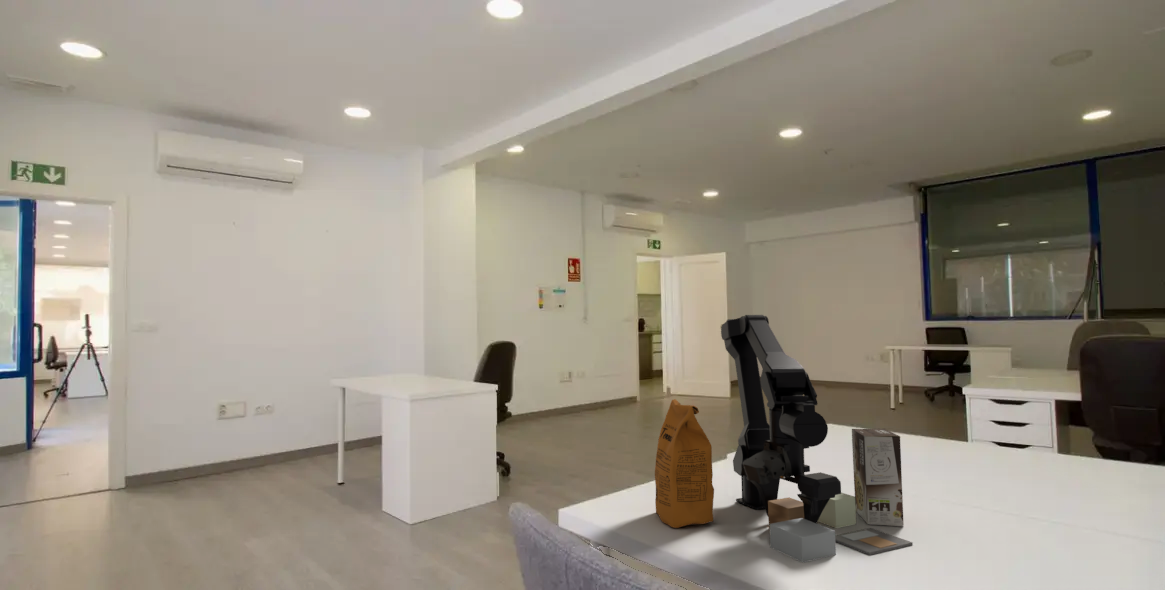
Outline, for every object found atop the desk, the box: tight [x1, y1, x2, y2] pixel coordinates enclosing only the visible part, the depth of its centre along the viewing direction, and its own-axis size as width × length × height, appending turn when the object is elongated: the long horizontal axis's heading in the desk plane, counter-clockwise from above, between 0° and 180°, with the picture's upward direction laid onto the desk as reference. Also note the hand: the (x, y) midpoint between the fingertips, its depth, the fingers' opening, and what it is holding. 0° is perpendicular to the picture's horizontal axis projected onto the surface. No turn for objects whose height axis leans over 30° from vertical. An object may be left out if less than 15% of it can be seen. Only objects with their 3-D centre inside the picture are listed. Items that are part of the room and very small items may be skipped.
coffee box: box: [851, 428, 904, 527], centre depth 110 cm, size 9×6×16 cm
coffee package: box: [654, 398, 715, 529], centre depth 111 cm, size 10×12×22 cm
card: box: [835, 527, 914, 556], centre depth 97 cm, size 8×10×1 cm
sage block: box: [817, 492, 857, 529], centre depth 108 cm, size 5×5×5 cm
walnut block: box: [767, 497, 804, 530], centre depth 103 cm, size 5×5×5 cm
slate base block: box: [769, 518, 837, 563], centre depth 94 cm, size 7×7×4 cm
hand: (789, 524), depth 103 cm, fingers open, 9 cm apart
